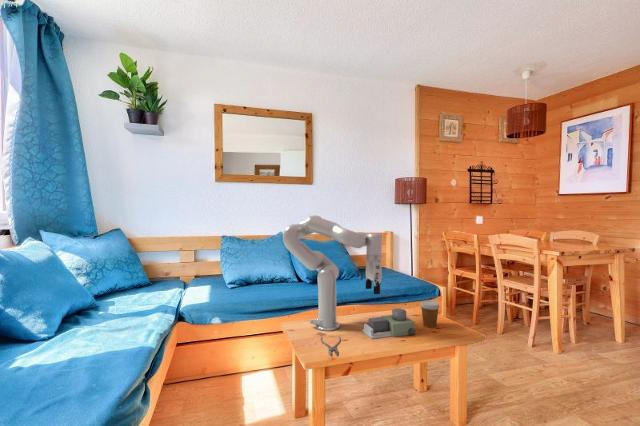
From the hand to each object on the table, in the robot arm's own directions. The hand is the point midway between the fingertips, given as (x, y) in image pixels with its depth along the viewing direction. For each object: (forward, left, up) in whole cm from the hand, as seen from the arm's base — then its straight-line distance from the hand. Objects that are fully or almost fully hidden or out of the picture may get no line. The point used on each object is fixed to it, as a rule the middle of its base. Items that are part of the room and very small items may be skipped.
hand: (372, 291), depth 152 cm
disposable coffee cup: (+32, -3, -20) cm, 38 cm away
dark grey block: (+1, -4, -19) cm, 19 cm away
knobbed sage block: (+6, -4, -20) cm, 21 cm away
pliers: (-24, -10, -20) cm, 33 cm away
